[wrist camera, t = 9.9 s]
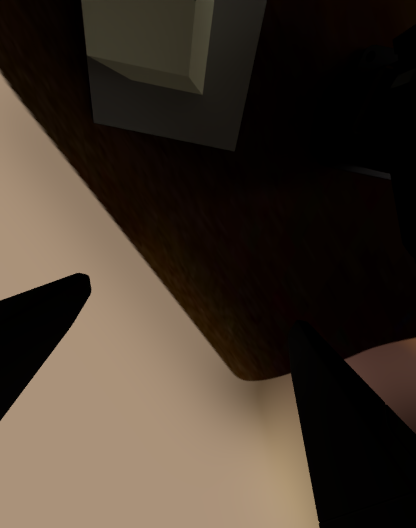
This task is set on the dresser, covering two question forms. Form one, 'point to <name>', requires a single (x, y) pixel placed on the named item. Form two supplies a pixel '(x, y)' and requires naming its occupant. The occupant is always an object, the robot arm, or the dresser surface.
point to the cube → (151, 39)
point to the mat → (186, 103)
